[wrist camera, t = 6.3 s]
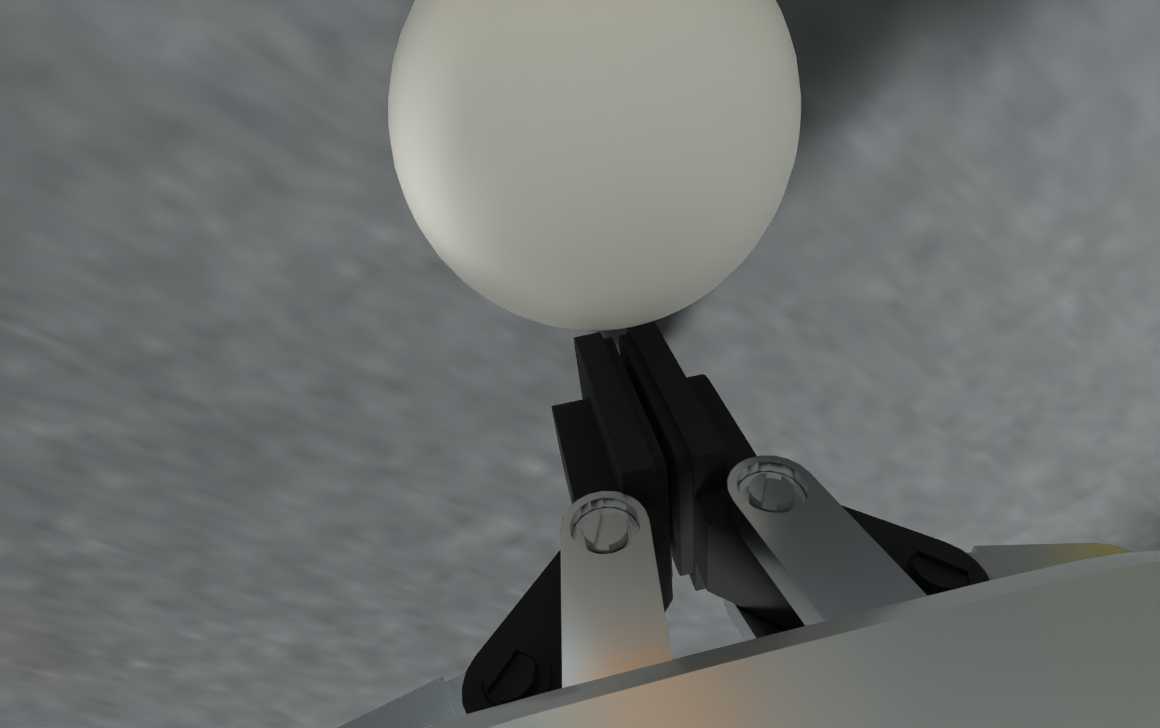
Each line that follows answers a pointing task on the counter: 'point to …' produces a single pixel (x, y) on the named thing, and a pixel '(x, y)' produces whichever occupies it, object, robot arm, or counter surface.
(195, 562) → the counter surface
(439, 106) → the cue ball
